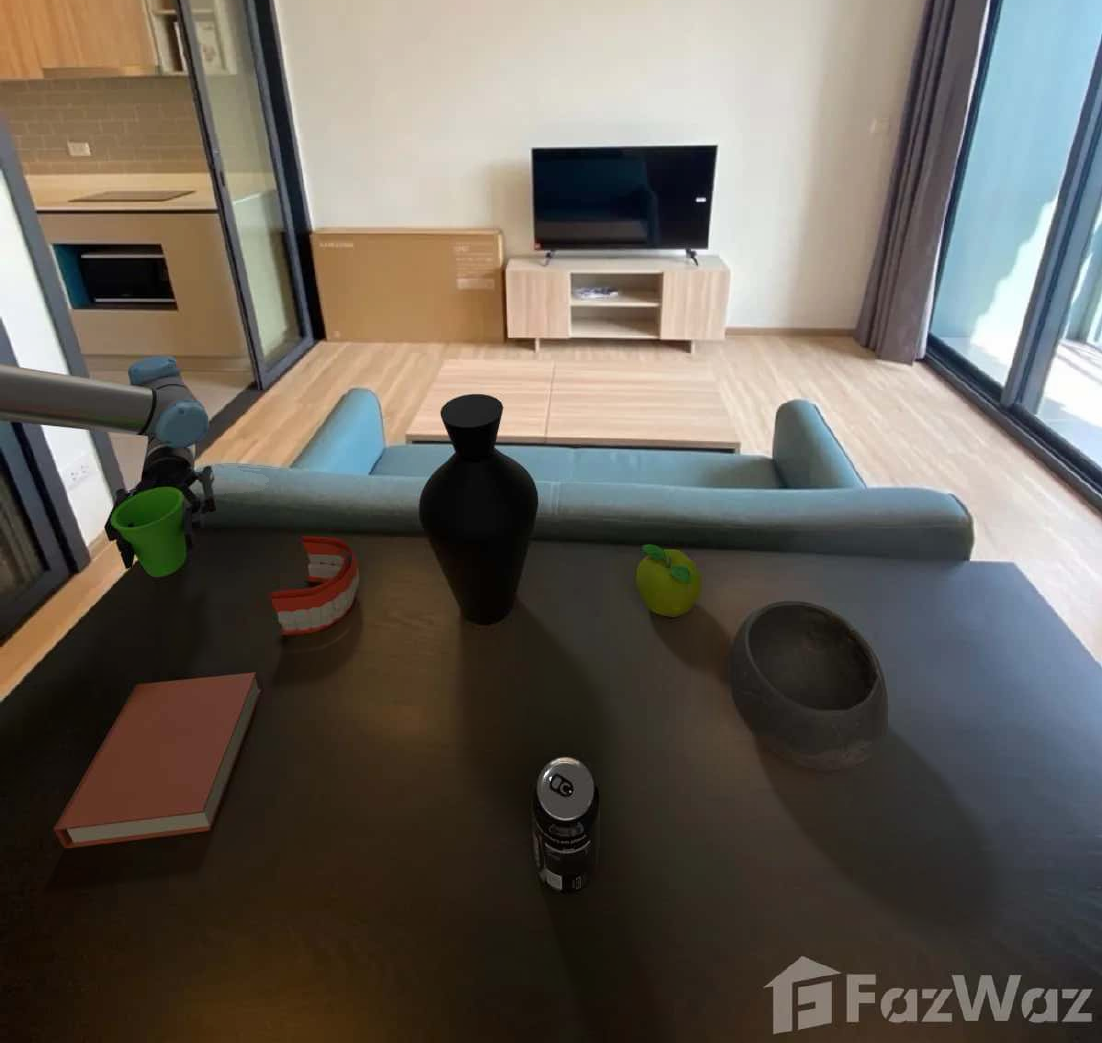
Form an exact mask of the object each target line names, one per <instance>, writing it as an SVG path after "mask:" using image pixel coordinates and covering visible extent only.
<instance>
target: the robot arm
mask: <svg viewBox="0 0 1102 1043" xmlns="http://www.w3.org/2000/svg"><path fill="white" fill-rule="evenodd" d="M127 376H128V380H129V384H126V383H120V382H115V381H108V380H101V379H96V378H88V377H83V376H77V375H70V374H65V373H58V372H51V371H47V370H40V369H35V368H34V369H33V368H28V367H27V368H26V367H21V366H14V365H10V364H3V363H0V421H1V422H10V423H21V424H30V425H39V426H47V427H56V428H57V427H58V428H66V429H75V430H76V429H77V430H86V431H94V432H95V431H96V432H102V433H103V432H104V433H105V432H106V433H112V434H113V433H114V434H122V435H123V434H124V435H132V436H141V437H147V444H146V450H145V455H144V460H143V466H142V470H141V476H140V481H139V482H137V485H136V487H135V488H131V489H129V490H126V489H125V488H119V489H117V490H116V491H115V496H116V499H115V502H114V503H113V506H112V508H111V509H110V510H111V511H110V513H109V514H108V517H107V520H106V522H105V524H104V526H103V528H104V531H105V534H106V536H107V539H108V541H109V542H114V541H115V544H116V547H117V550H118V552H119V553H120V557H121V560H122V563H123V565H124V568H125V570H129V569H132V568H133V567H134V561H135V552H134V550H133V548H132V546H131V544H130V542H129V541H126V540H125V539H124V538H123V536H122V535H121V533H120V532H119V530H118V529H116V528H114V527H113V526H112V525H111V521H110V520H111V516H112V514H113V512H114V511H115V509H116V508H117V507H118V506H119V505H120V504H122V503H123V502H124V501H126V500H127V499H129V498H131V497H133V496H134V495H137V494H139V493H141V492H144V491H147V490H150V489H154V488H159V487H173V488H176V489H178V490H180V491H181V492H182V493H183V495H184V499H183V502H182V504H184V505H185V507H186V508H185V515H184V516H185V517H184V537H185V544H186V546H187V550H192V549H195V546H196V530H199V529H202V528H203V526H204V516H205V514H206V513H208V512H209V513H213V512H215V511H217V510H218V506H217V502H216V498H215V493H214V488H213V483H214V481H215V475H214V474H215V473H214V471H213V468H212V466H211V465H206V466H204V467H203V468H202V470H199V471H196V470H195V461H196V460H195V459H196V444H197V443H198V442H200V441H201V440H202V439H203V438H204V437H205V435H206V434H207V432H208V430H209V426H210V419H209V415H208V414H207V412H206V409H205V407H204V405H203V404H202V402H200V401H199V399H197V397H196V396H195V395H194V394H193V392H192V391H191V389H190V388H189V387H188V385H186V383H185V382H184V381H183V378H182V375H181V369H180V368H179V365H178V363H177V360H176V358H175V357H173V356H171V355H165V354H161V355H152V356H148V357H145V358H141V359H139V360H137V361H135V362H134V363H132V364H131V365H130V366H129V367H128V370H127ZM196 481H198V483H199V484H201V486H202V491H203V496H204V499H203V500H201V499H200V498H199V497H197V496H196V494H195V493H194V492H193V490H192V489H191V488H190V487H191V486H192V485H193V484H194V483H195V482H196ZM132 527H134V526H133V523H132V524H129V525H128V528H132Z"/></svg>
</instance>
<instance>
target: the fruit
mask: <svg viewBox="0 0 1102 1043" xmlns="http://www.w3.org/2000/svg"><path fill="white" fill-rule="evenodd" d="M641 549H642V550H641V551H643V552H644V553H645V554H646V555H647V556H645V557H644V558H643V559H642V560H640V562H639V564H638V566H637V570H636V575H635V582H636V583H635V584H636V589H637V591H638V594H639V596H640V598H641V600H642V601H643V603H644V604H645V606H646V607H647V608H648V609H649V610H650V611H651V613H654V614H656V615H659V616H664V617H670V618H677V617H679V616H680V617H681V616H682V615H684V614H685V613H688V611H690V610H691V609H692V608H693V607H694V605H696V603H697V601H698V599H699V598H700V595H701V591H702V576H701V573H700V569H699V568H698V566H697V565H696V564H695V563H694V562H693V561H692V559H690V558H689V557H688V556H687V555H686V554H685V553H684V552H683V551H681V550H680V549H676V548H675V549H673V548H672V549H671V548H670V549H669V548H668V549H663V548H661V547H660V546H658V545H655V544H651V543H649V544H644V545H642V546H641Z"/></svg>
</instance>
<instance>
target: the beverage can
mask: <svg viewBox="0 0 1102 1043" xmlns="http://www.w3.org/2000/svg"><path fill="white" fill-rule="evenodd" d="M598 786H599V785H598V783H597V781H596V779H595V777H594V776H593V774H592V772H590V771H589V769H588V768H587V766H585V764H584V763H583V762H581V761H580V760H578V759H576V758H573V757H570V756H561V757H557V758H554V759H553V760H551V761H549V762H548V763H547V764H546V765H545V766H544V768H543V769H542V770H541V771H540V772H539V774H538V775H537V777H536V779H535V781H534V784H533V786H532V791H531V802H530V804H531V820H532V821H531V822H532V823H531V824H532V840H533V841H532V842H533V855H534V863H535V867H536V871H537V873H538V875H539V877H540V878H541V880H542V881H543V883H544V884H545V885H546V886H547V887H548V888H549V889H551V890H552V891H553V892H556V893H559V894H563V895H571V894H576V893H578V892H580V891H582V890H584V889H585V888H586V887H587V886H588V885H589V884H590V883H591V881H592V880H593V879H594V876H595V874H596V872H597V869H598V865H599V857H600V834H601V832H600V830H601V828H600V826H601V796H600V790H599V787H598Z"/></svg>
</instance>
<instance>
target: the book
mask: <svg viewBox="0 0 1102 1043" xmlns="http://www.w3.org/2000/svg"><path fill="white" fill-rule="evenodd" d="M256 675H257V672H256V671H255V672H254V671H253V672H245V673H236V674H225V675H216V676H206V677H197V678H196V677H195V678H186V679H177V680H168V681H157V682H147V683H138V684H135V686H134V688H133V689H132V691H131V693H130V695H129V697H128V699H126V702H125V703H124V705H123V707H122V709H121V710H120V711H119V712H120V713H119V714H118V716H117V717H116V719H115V721H114V723H113V724H112V726H111V728H110V730H109V731H108V733H107V734H106V737H105V738H104V740H103V742H102V743H101V745H100V747H99V749H98V750H97V753H96V754H95V756H94V758H93V759H92V761H91V763H90V765H89V767H88V768H87V770H86V772H85V773H84V775H83V777H82V778H81V781H79V784H78V786H77V787H76V789H75V791H74V792H73V794H72V796H71V798H70V800H69V802H68V803H67V805H66V806H65V808H64V810H63V811H62V814H61V815H60V817H59V818H58V821H57V822H56V824H55V826H54V828H53V831H54V833H55V834H56V836H57V838H58V840H59V842H60V843H61V845H62V846H63V848H64V850H65V849H74V848H82V847H89V846H100V845H107V844H114V843H123V842H131V841H139V840H147V839H153V838H156V839H157V838H164V837H171V836H179V835H188V834H196V833H202V832H203V833H204V832H210V831H211V829H212V826H213V824H214V822H215V819H216V815H217V813H218V811H219V808H220V805H221V802H222V800H223V796H224V794H225V791H226V789H227V785H228V783H229V780H230V778H231V775H232V772H233V769H234V766H235V763H236V761H237V759H238V755H239V754H240V750H241V748H242V745H243V741H244V739H245V736H246V734H247V731H248V728H249V726H250V723H251V720H252V717H253V714H254V712H255V709H256V707H257V704H258V701H259V698H260V695H261V693H262V688H259V686H258V683H257V680H256V677H257V676H256Z"/></svg>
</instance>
